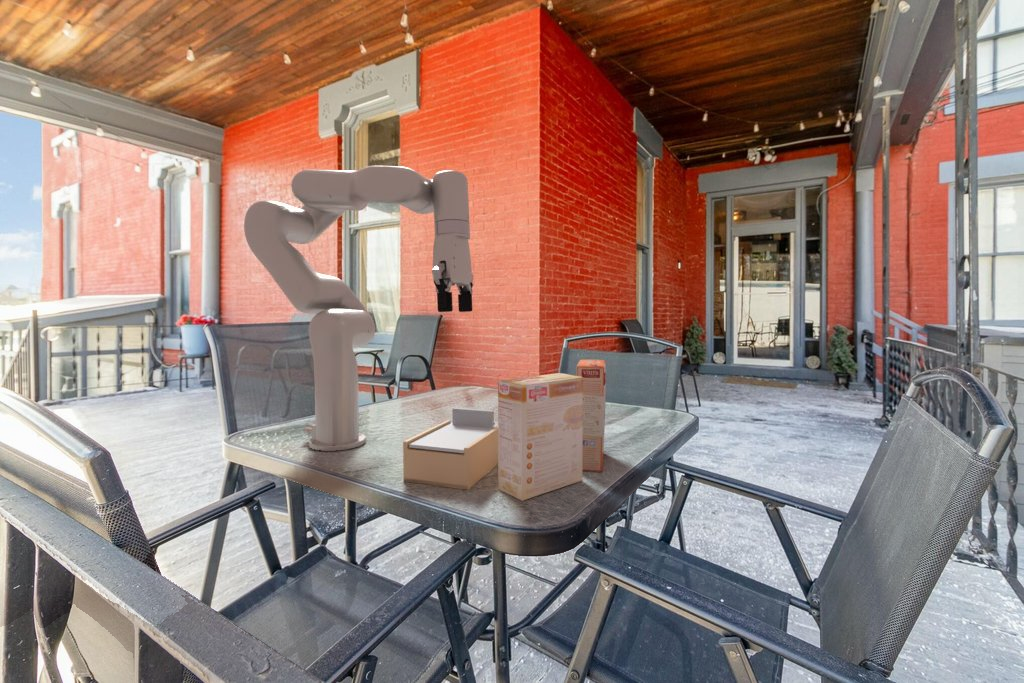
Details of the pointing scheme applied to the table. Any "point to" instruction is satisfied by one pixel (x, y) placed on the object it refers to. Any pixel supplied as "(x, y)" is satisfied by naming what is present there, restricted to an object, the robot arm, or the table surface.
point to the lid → (458, 431)
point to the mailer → (450, 461)
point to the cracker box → (593, 412)
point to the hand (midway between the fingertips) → (455, 311)
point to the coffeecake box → (539, 434)
